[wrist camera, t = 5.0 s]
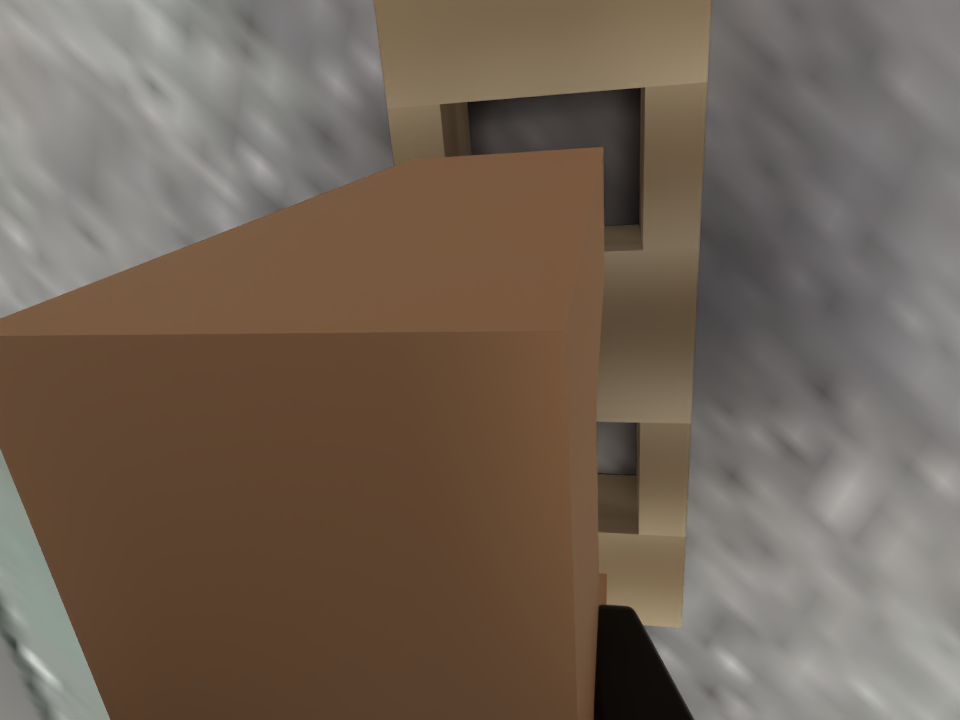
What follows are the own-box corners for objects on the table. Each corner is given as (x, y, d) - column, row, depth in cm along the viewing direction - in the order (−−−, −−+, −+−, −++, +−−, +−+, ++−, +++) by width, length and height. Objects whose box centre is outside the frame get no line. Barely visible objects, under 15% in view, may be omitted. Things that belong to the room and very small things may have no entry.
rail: (673, 560, 22) (681, 628, 19) (468, 548, 23) (449, 609, 21) (699, -72, 15) (716, -104, 12) (408, -34, 17) (366, -57, 14)
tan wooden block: (412, 159, 10) (-46, 337, 3) (603, 146, 10) (564, 330, 3) (466, 638, 14) (311, 1212, 7) (607, 650, 14) (596, 1295, 6)
